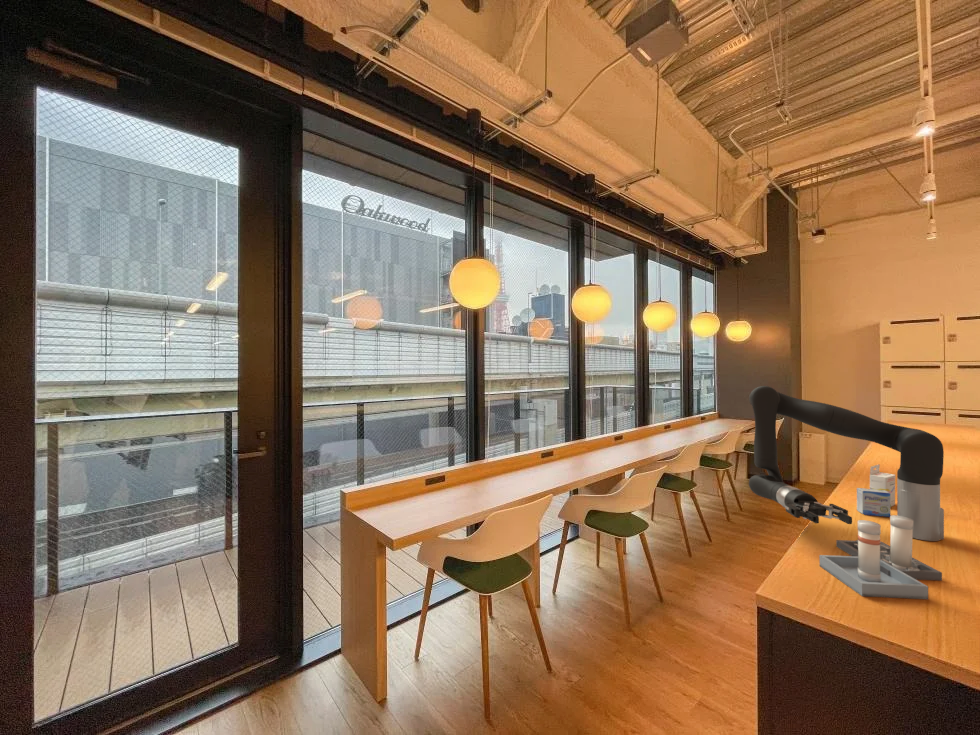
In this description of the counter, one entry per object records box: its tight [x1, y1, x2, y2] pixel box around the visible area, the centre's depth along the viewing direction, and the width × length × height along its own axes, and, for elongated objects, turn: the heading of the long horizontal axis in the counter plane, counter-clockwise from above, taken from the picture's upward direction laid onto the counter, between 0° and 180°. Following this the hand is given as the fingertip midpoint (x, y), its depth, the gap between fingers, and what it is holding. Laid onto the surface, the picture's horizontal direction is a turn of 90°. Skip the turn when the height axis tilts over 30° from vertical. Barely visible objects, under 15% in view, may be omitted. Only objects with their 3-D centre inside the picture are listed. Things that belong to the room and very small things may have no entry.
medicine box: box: [856, 487, 891, 518], centre depth 143 cm, size 8×4×9 cm, turn 68°
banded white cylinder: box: [857, 519, 882, 583], centre depth 100 cm, size 4×4×14 cm
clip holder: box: [835, 539, 943, 581], centre depth 109 cm, size 12×18×2 cm
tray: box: [819, 554, 929, 600], centre depth 100 cm, size 14×14×3 cm
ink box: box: [869, 464, 896, 508], centre depth 152 cm, size 9×5×15 cm, turn 117°
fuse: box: [889, 514, 913, 569], centre depth 104 cm, size 4×4×14 cm
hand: (834, 520), depth 112 cm, fingers open, 8 cm apart
